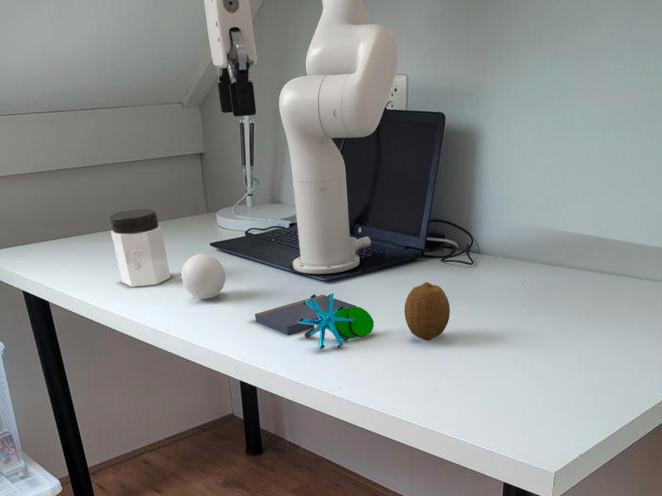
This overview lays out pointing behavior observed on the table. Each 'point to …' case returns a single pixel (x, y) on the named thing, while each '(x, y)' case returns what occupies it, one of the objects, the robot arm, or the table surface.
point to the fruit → (427, 311)
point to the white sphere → (203, 276)
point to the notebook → (296, 314)
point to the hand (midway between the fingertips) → (238, 113)
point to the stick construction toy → (339, 322)
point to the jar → (139, 247)
